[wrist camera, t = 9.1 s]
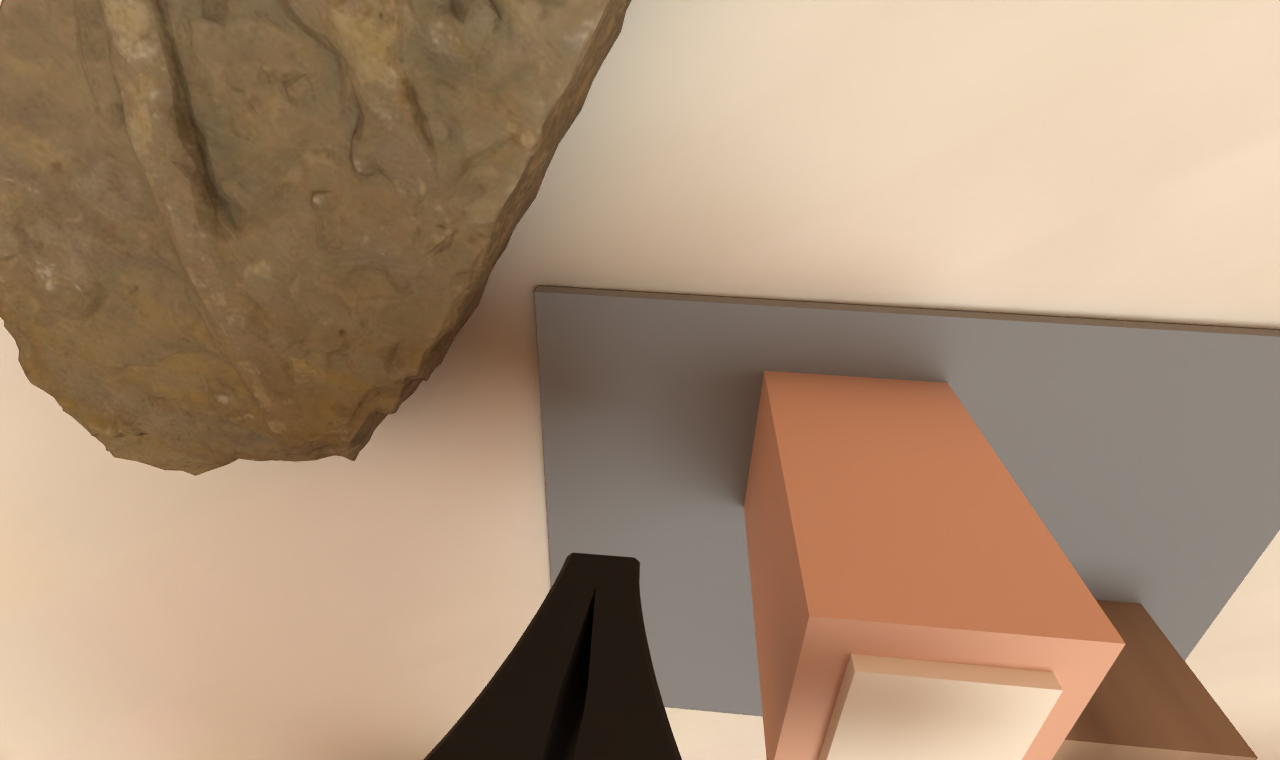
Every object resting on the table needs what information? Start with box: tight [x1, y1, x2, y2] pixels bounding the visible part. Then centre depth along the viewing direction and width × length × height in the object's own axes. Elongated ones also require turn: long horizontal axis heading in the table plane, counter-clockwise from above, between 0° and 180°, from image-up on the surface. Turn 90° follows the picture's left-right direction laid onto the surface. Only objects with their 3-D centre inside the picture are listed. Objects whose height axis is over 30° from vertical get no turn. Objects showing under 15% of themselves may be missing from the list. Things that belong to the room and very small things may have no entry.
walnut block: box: [1052, 600, 1257, 760], centre depth 18 cm, size 4×4×8 cm
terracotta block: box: [744, 371, 1125, 760], centre depth 13 cm, size 4×4×8 cm
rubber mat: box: [534, 286, 1280, 716], centre depth 19 cm, size 16×20×1 cm
